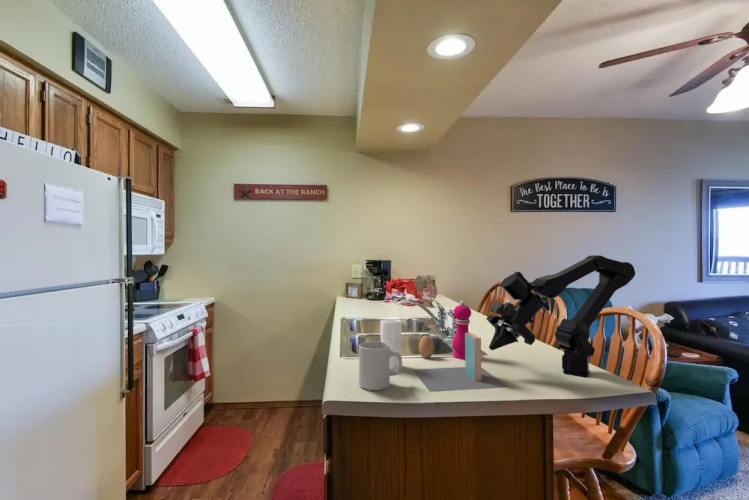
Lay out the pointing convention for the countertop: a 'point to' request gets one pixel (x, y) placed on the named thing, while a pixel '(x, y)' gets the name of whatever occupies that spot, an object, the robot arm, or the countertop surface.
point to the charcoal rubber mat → (455, 379)
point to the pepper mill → (461, 329)
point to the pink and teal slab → (473, 356)
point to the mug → (376, 365)
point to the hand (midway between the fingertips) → (490, 349)
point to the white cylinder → (391, 338)
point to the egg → (426, 347)
